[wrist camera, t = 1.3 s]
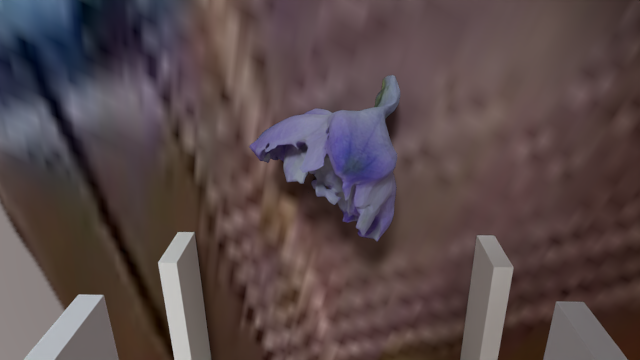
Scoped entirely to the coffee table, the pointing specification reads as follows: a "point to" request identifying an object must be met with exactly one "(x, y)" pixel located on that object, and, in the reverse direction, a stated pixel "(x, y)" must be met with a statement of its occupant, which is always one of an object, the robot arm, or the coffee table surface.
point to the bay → (190, 317)
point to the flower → (342, 158)
